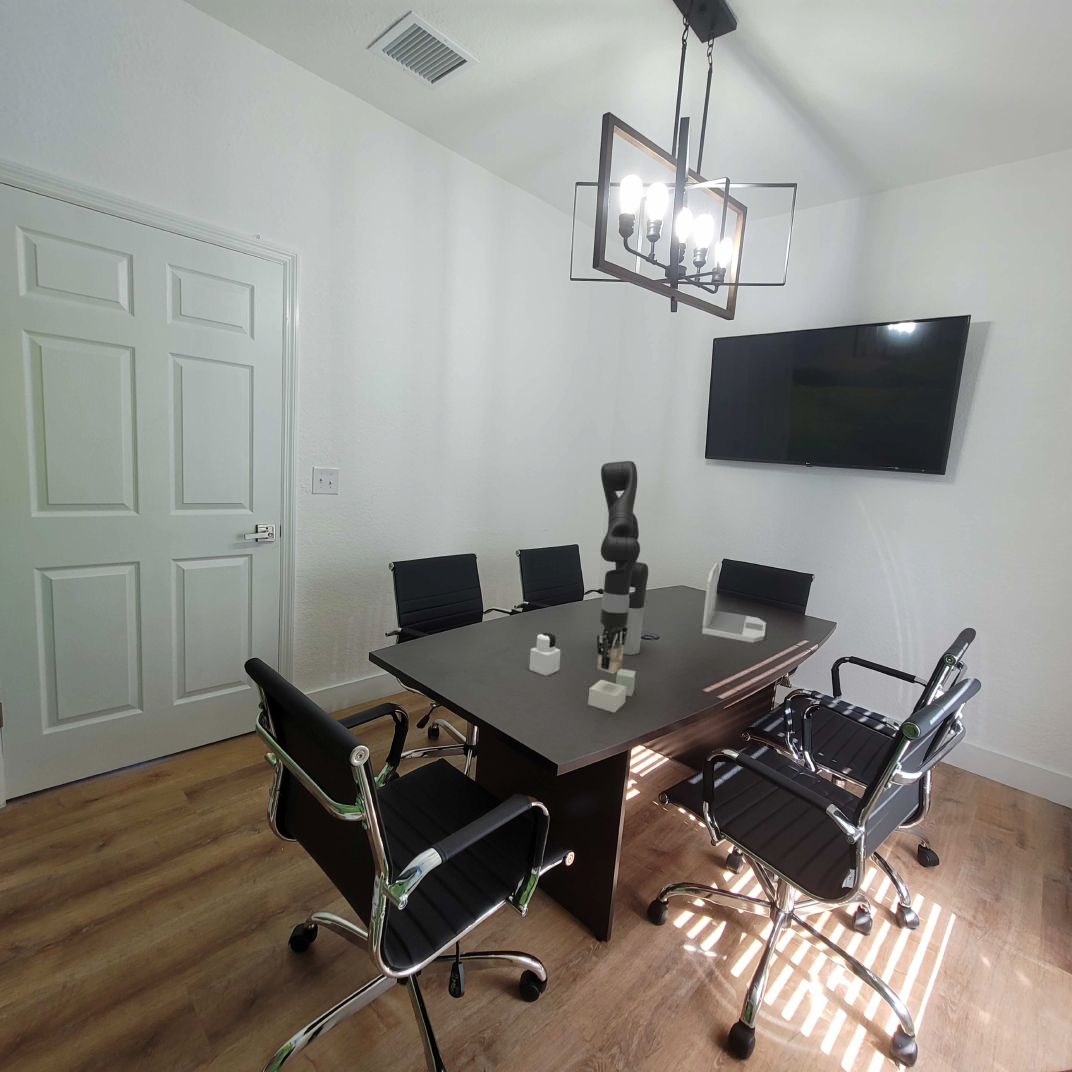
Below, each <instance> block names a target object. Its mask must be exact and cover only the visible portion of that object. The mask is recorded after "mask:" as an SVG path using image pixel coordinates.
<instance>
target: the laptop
mask: <svg viewBox="0 0 1072 1072" xmlns="http://www.w3.org/2000/svg"><path fill="white" fill-rule="evenodd" d="M719 571H720V563H719V562H716V563H715V564H714V565H713V566H712V568H711V569H710V570H709V575H708V579H707V583H706V584H707V585H706V592H705V600H704V611H703V619H702V633H701V634H704V635H710V636H716V637H721V638H726V639H733V640H737V641H743V642H748V643H756V642H760V641H764V639H765V636H766V628H767V627H766V625H767V623H766V621H764V620H762V619H760V618H759V617H755V616H749V615H744V614H738V613H732V612H727V611H720V610H715V607H716V601H717V600H716V599H717V590H718V581H719V573H720V572H719Z"/></svg>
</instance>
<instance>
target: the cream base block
mask: <svg viewBox="0 0 1072 1072" xmlns="http://www.w3.org/2000/svg"><path fill="white" fill-rule="evenodd" d="M588 691H589V692H588V701H587V704H588V705H589V706H592V707H593V708H594V707H595V708H597V709H598V708H599V709H602V710H605V711H607V712H610V713H616V712H617V711H618V710H619V709H620V708H621V707H622V706H623V705H624V704H625V703H626V697H627V695H626V686H622V685H619V684H616V682H615V683H614V682H611V681H607V680H604V679H599V681H597V682H596V683H595V684H593V685H592V686H591V687H589V689H588Z"/></svg>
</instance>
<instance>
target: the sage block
mask: <svg viewBox="0 0 1072 1072" xmlns="http://www.w3.org/2000/svg"><path fill="white" fill-rule="evenodd" d="M635 677H636V671H635V670H630V669H626V668H625V669H624V668H621V669H620V670H619V671H617V672H616V679H615V684H619V685H622V686H626V697H627V696H628V697H633V694H634V690H635V681H636V679H635Z"/></svg>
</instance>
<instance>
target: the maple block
mask: <svg viewBox="0 0 1072 1072" xmlns="http://www.w3.org/2000/svg"><path fill="white" fill-rule="evenodd" d="M607 645H609V646H610V645H611V644H608V643H607ZM623 647H624V645H618V644H615V645H614V648H613V649H611V654H610V664H609V669H607V670H606V669H603V668H601V662H602V655H598V654H597V655H598V658H597V670H599V671H603V672H606V673H609V674H612V675H613V674H615V673H617V672H618V671H619V670H620V669H623V667H622V666H623V665H622V664H623V656H624V654H623ZM601 650H602V648H601ZM607 652H608V648H607Z"/></svg>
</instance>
